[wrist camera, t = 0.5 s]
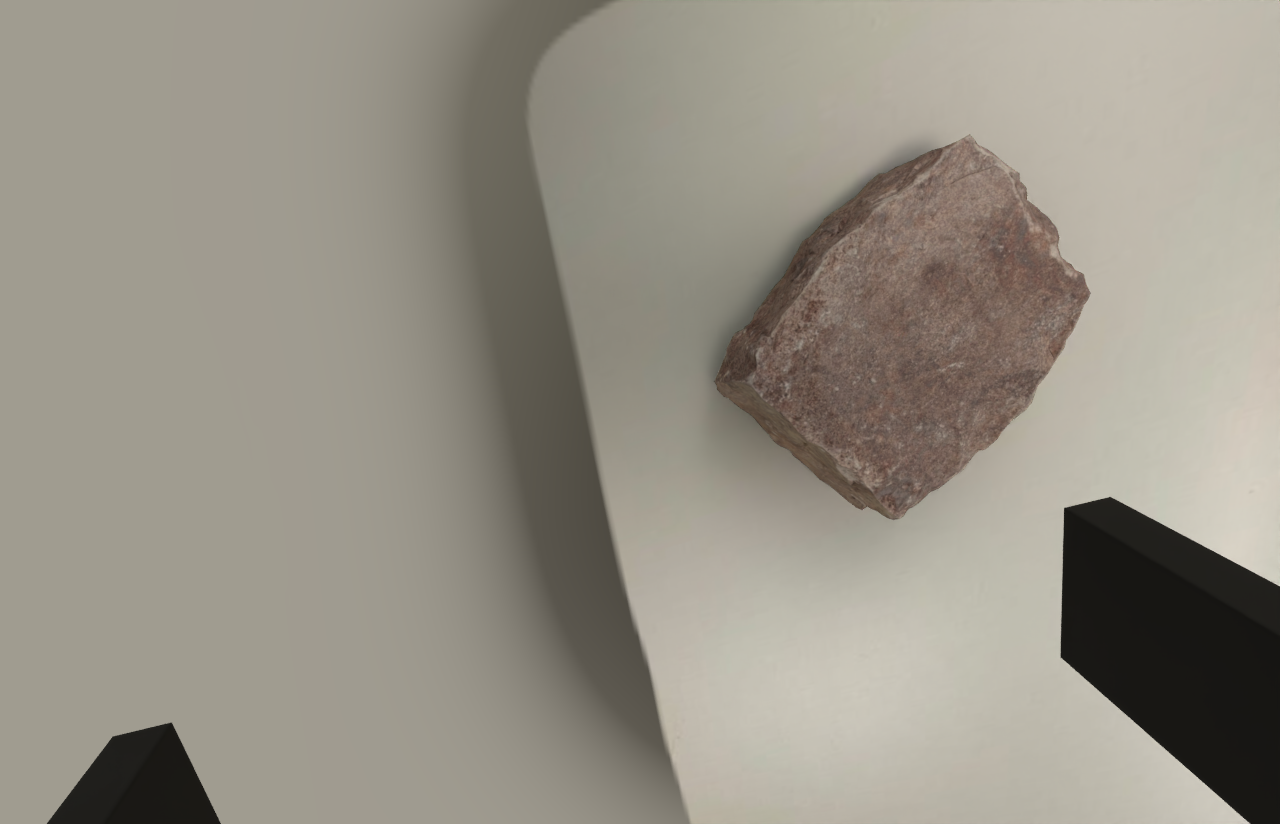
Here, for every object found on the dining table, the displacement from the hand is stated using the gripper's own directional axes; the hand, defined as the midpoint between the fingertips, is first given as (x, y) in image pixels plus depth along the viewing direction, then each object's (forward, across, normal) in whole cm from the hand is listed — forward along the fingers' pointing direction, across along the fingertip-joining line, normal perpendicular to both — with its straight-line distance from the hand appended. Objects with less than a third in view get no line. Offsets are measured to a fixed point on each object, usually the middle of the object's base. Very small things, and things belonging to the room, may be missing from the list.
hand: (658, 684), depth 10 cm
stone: (+17, +11, 0) cm, 20 cm away
